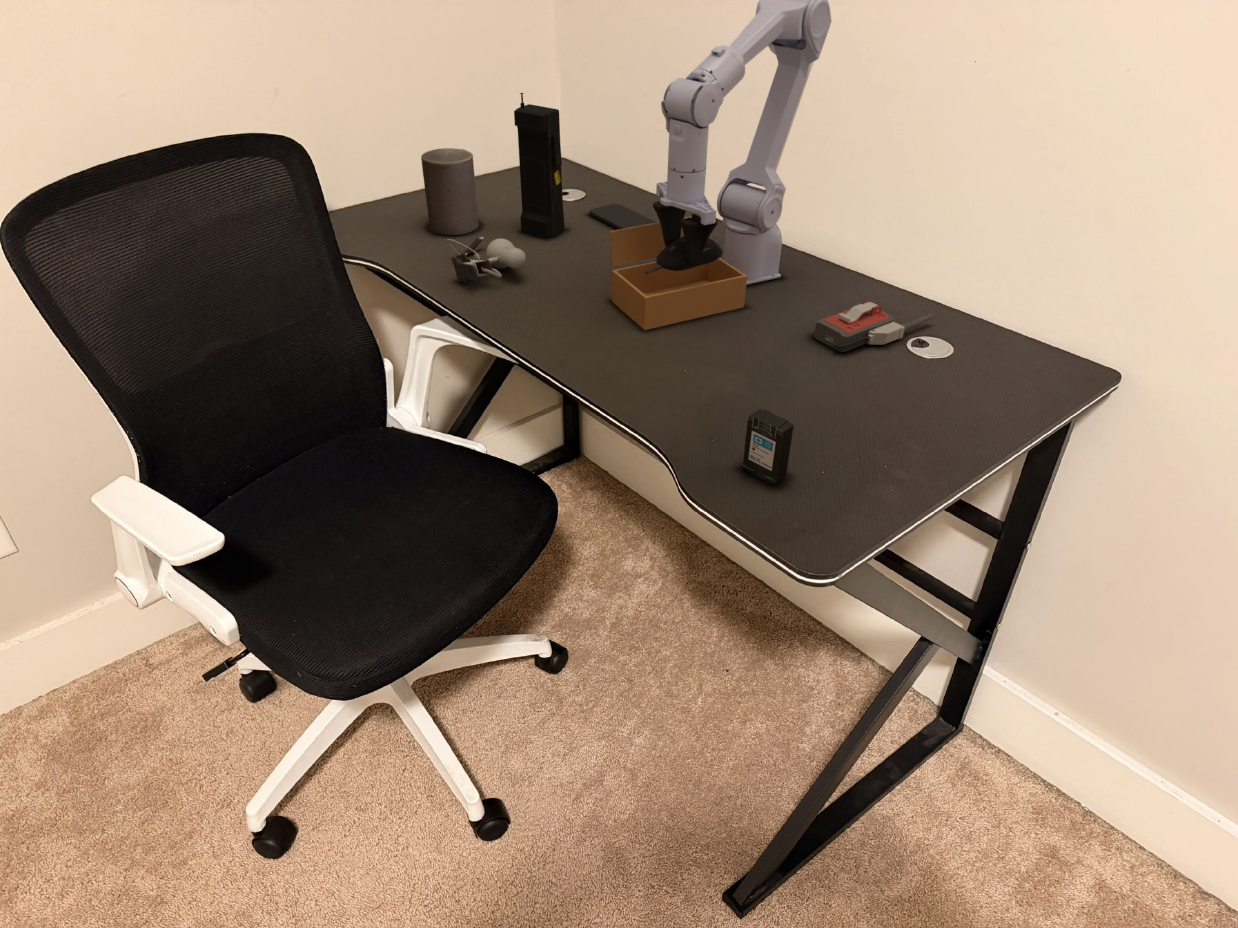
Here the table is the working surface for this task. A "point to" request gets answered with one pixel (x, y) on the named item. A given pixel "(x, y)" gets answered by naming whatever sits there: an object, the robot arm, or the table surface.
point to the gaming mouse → (676, 256)
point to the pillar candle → (450, 191)
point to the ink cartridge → (767, 446)
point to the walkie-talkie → (861, 327)
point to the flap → (637, 243)
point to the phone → (620, 216)
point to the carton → (677, 292)
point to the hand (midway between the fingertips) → (682, 254)
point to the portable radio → (540, 169)
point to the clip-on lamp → (497, 253)
